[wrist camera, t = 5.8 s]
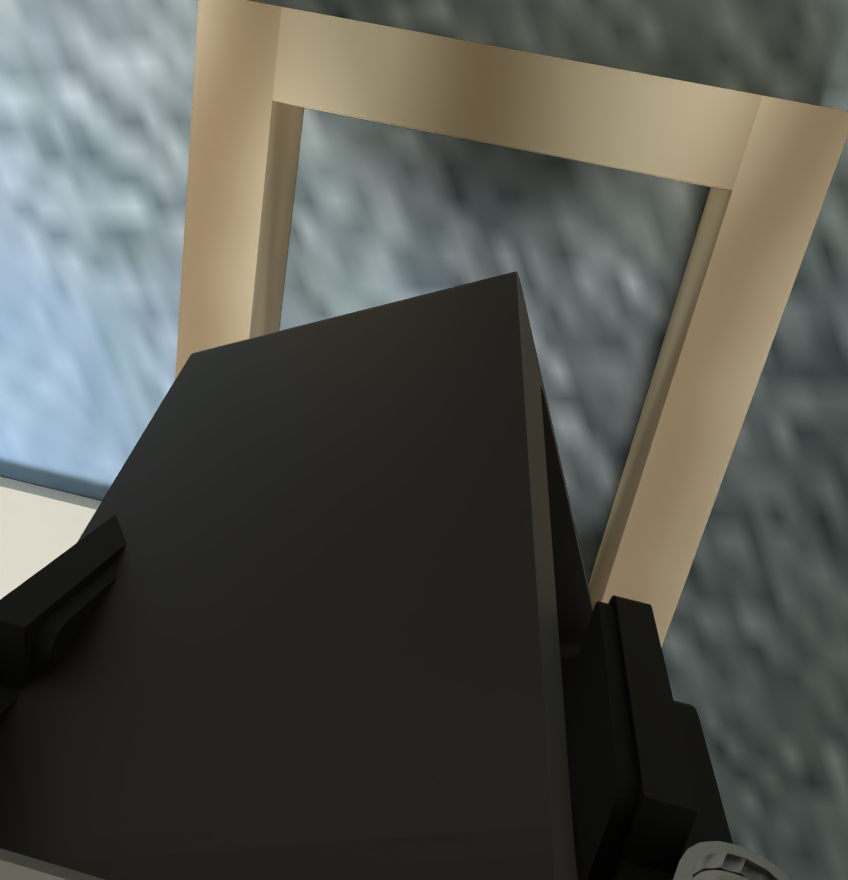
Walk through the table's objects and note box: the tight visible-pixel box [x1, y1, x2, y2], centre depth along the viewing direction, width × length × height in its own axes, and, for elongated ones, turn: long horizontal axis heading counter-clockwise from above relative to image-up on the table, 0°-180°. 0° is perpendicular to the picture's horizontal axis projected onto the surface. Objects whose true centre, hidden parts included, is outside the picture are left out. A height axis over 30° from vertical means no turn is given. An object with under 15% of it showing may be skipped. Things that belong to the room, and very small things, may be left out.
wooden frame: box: [175, 0, 848, 648], centre depth 21 cm, size 15×17×2 cm
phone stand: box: [0, 271, 594, 880], centre depth 9 cm, size 9×6×12 cm, turn 15°
